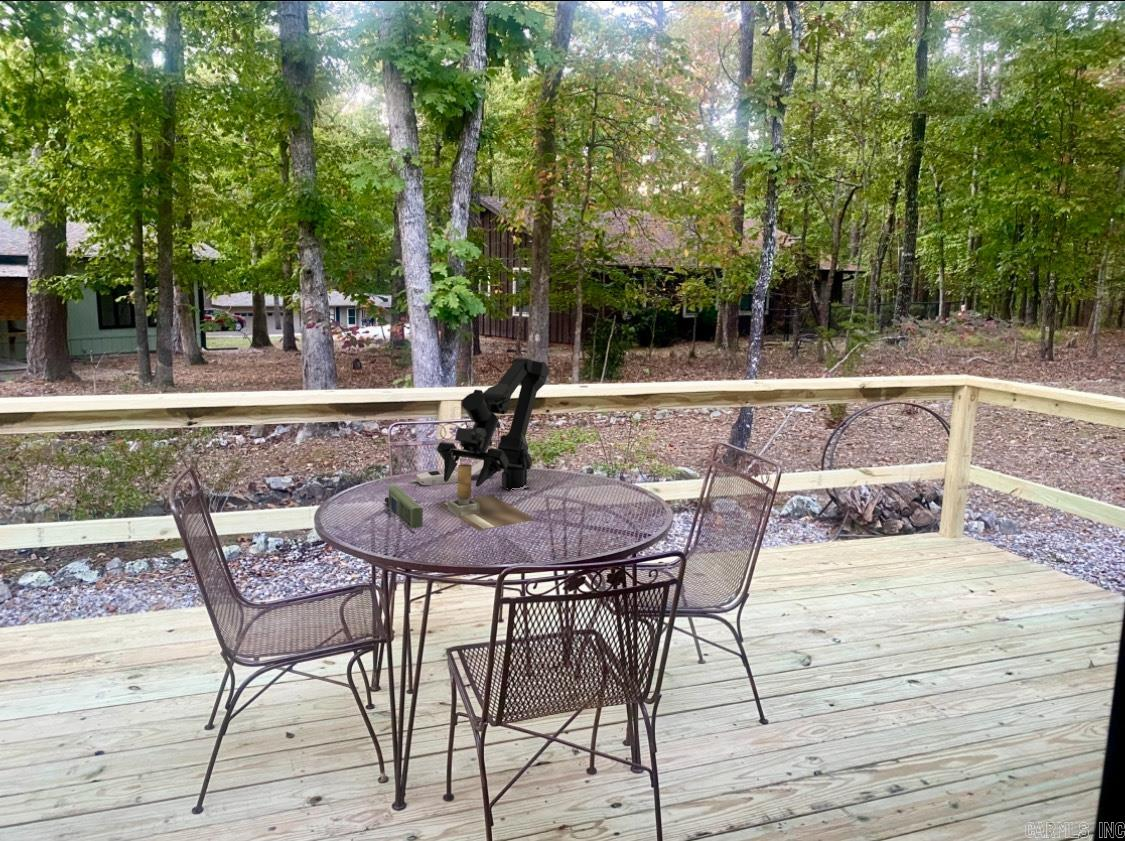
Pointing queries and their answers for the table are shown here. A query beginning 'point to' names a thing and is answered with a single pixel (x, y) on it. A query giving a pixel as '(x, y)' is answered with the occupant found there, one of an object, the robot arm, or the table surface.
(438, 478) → the mobile phone
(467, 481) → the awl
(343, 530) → the table surface
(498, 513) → the board
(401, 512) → the handheld radio
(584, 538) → the table surface
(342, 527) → the table surface
